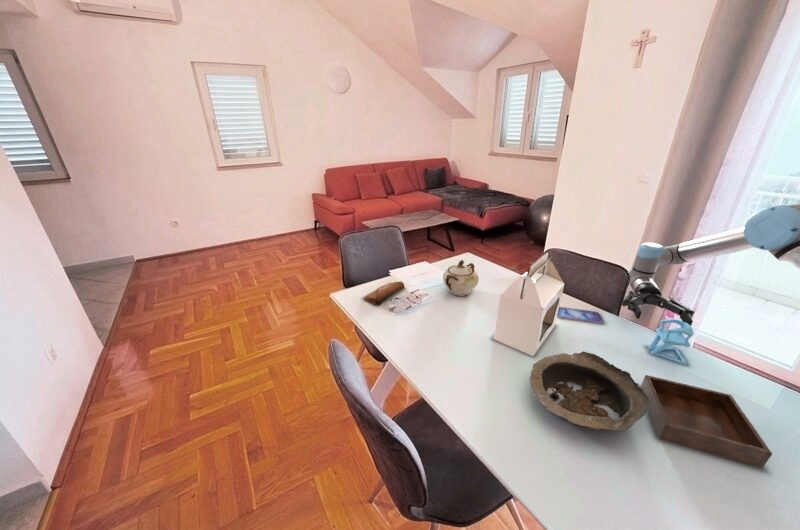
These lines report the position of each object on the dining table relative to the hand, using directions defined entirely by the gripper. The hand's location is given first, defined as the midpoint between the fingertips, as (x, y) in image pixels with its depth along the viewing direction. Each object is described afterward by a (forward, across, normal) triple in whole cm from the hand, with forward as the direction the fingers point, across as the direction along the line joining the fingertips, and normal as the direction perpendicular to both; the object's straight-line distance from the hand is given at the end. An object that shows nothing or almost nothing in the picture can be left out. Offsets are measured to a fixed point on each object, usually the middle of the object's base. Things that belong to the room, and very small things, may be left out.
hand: (663, 319), depth 102 cm
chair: (+9, 0, -8) cm, 12 cm away
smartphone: (-5, +23, -8) cm, 25 cm away
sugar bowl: (-7, +69, -8) cm, 70 cm away
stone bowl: (+42, +27, -8) cm, 50 cm away
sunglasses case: (+8, +98, -8) cm, 98 cm away
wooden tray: (+37, +2, -8) cm, 38 cm away
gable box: (+14, +41, -8) cm, 44 cm away
